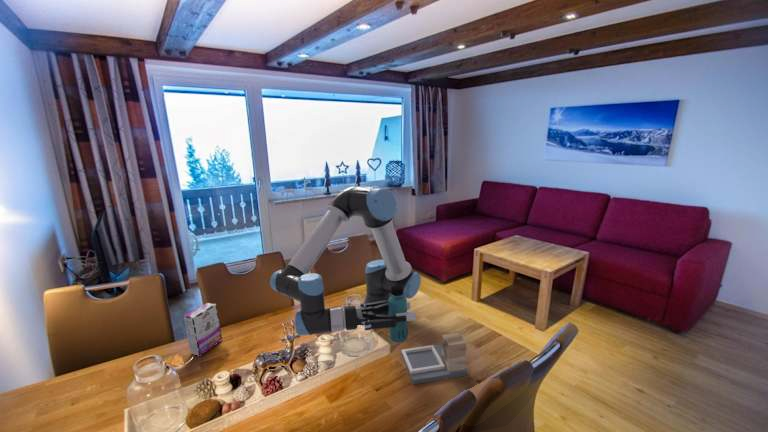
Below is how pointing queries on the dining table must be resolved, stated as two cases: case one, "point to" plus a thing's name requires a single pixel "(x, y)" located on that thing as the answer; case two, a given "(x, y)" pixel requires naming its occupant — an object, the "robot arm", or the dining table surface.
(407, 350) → the board
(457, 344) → the wooden pillar
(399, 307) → the beverage bottle
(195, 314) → the candy bar box
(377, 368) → the dining table surface
